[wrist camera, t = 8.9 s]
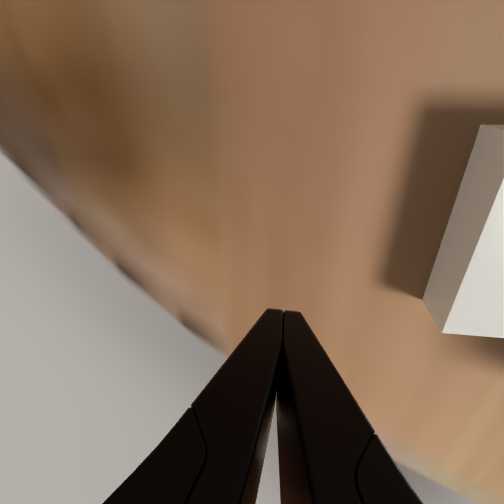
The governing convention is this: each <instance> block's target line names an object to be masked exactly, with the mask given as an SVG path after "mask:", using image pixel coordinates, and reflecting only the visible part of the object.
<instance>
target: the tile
mask: <svg viewBox="0 0 504 504" xmlns="http://www.w3.org/2000/svg"><path fill="white" fill-rule="evenodd" d="M422 300H423V302H424V304H425V305H426V307H427V309H428V310H429V312H430V314H431V315H432V317H433V319H434V321H435V322H436V324H437V326H438V327H439V329H440V331H441V332H442V333H449V334H461V335H473V336H485V337H497V338H504V125H480V128H479V131H478V134H477V137H476V140H475V143H474V146H473V149H472V152H471V155H470V158H469V161H468V164H467V167H466V170H465V173H464V176H463V179H462V182H461V185H460V188H459V191H458V194H457V197H456V200H455V203H454V206H453V209H452V212H451V215H450V218H449V221H448V224H447V227H446V230H445V233H444V236H443V239H442V242H441V245H440V248H439V251H438V254H437V257H436V260H435V263H434V266H433V269H432V272H431V275H430V278H429V281H428V284H427V287H426V290H425V293H424V296H423V299H422Z"/></svg>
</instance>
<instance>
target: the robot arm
mask: <svg viewBox="0 0 504 504" xmlns="http://www.w3.org/2000/svg"><path fill="white" fill-rule="evenodd" d="M276 392H277V395H276ZM275 400H276V412H277V434H278V455H279V476H280V498H281V504H423V503H422V501H421V500H420V499H419V497H418V496H417V494H416V493H415V492H414V490H413V489H412V488H411V486H410V485H409V483H408V482H407V480H406V479H405V477H404V476H403V475H402V473H401V471H400V470H399V468H398V467H397V465H396V463H395V462H394V460H393V459H392V457H391V456H390V454H389V453H388V451H387V449H386V448H385V446H384V445H383V443H382V441H381V440H380V438H379V436H378V435H377V434H374V433H375V431H374V429H373V427H372V426H371V424H370V422H369V421H368V419H367V418H366V416H365V414H364V413H363V411H362V410H361V408H360V406H359V405H358V403H357V402H356V400H355V398H354V397H353V395H352V394H351V392H350V390H349V389H348V387H347V386H346V384H345V382H344V381H343V379H342V378H341V376H340V374H339V373H338V371H337V370H336V368H335V366H334V365H333V363H332V362H331V360H330V358H329V357H328V355H327V354H326V352H325V350H324V349H323V347H322V346H321V344H320V343H319V341H318V339H317V338H316V336H315V335H314V333H313V331H312V330H311V328H310V327H309V325H308V323H307V322H306V320H305V319H304V317H303V315H302V314H301V313H300V312H297V311H288V310H286V311H284V313H283V311H282V310H279V309H270V308H269V309H266V311H265V312H264V313H263V314H262V316H261V317H260V318H259V319H258V321H257V322H256V323H255V324H254V326H253V327H252V328H251V330H250V331H249V332H248V333H247V335H246V336H245V337H244V338H243V340H242V341H241V342H240V343H239V345H238V346H237V347H236V349H235V350H234V351H233V352H232V354H231V355H230V356H229V357H228V359H227V360H226V362H225V363H224V364H223V365H222V366H221V368H220V369H219V370H218V372H217V373H216V374H215V375H214V377H213V378H212V379H211V380H210V382H209V383H208V384H207V386H206V387H205V388H204V389H203V391H202V392H201V393H200V394H199V396H198V397H197V398H196V399H195V401H194V402H193V403H192V404H191V408H188V409H187V410H186V412H185V413H184V414H183V416H182V417H181V418H180V419H179V421H178V422H177V423H176V424H175V426H174V427H173V428H172V429H171V430H170V432H169V433H168V434H167V435H166V436H165V437H164V439H163V440H162V441H161V442H160V444H159V445H158V446H157V447H156V448H155V449H154V450H153V451H152V452H151V453H150V455H149V456H148V457H147V458H146V459H145V460H144V461H143V462H142V463H141V464H140V465H139V466H138V468H136V470H135V471H134V472H133V473H132V474H131V475H130V476H129V477H128V478H127V479H126V480H125V481H124V482H123V483H122V484H121V485H120V486H119V487H118V488H117V489H116V490H115V491H114V492H113V493H112V494H111V495H110V497H108V498H107V500H105V501H104V503H103V504H255V503H256V498H257V493H258V488H259V483H260V478H261V473H262V467H263V463H264V458H265V453H266V447H267V442H268V437H269V432H270V427H271V422H272V417H273V412H274V406H275Z"/></svg>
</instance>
